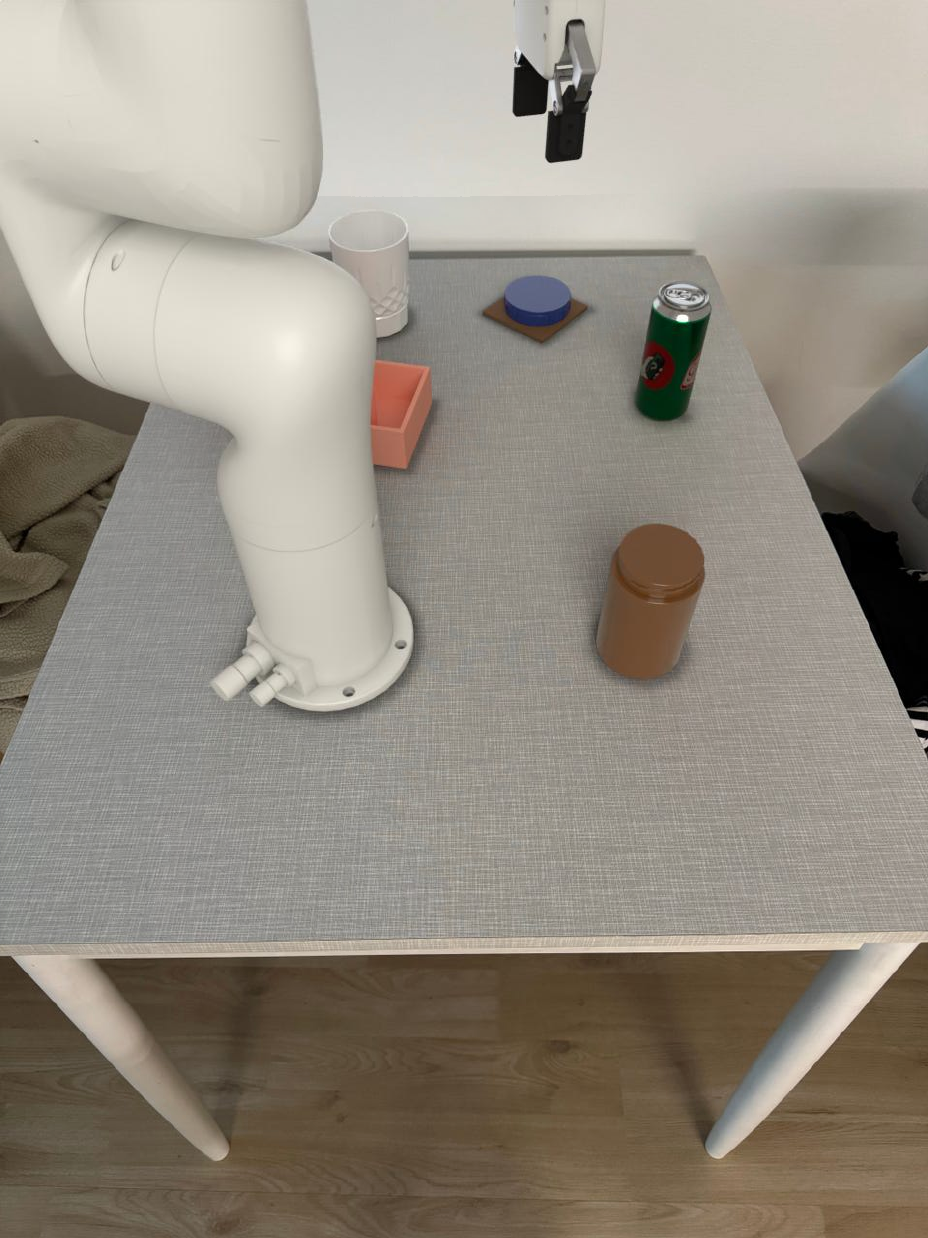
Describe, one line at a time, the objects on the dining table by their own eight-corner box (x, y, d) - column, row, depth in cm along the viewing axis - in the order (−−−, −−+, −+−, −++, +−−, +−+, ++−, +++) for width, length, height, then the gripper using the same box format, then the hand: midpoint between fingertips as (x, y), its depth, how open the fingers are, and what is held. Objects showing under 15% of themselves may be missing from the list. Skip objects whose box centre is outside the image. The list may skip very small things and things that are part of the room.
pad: (542, 343, 90) (542, 339, 90) (482, 314, 94) (482, 311, 93) (587, 308, 94) (587, 305, 94) (528, 282, 97) (528, 279, 97)
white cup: (329, 309, 94) (316, 219, 86) (397, 292, 96) (390, 202, 88) (355, 349, 90) (344, 258, 82) (425, 330, 92) (421, 239, 84)
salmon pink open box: (432, 403, 85) (427, 313, 77) (406, 469, 79) (399, 378, 71) (256, 379, 87) (235, 289, 79) (220, 440, 81) (193, 350, 74)
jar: (650, 694, 64) (676, 606, 56) (579, 648, 67) (594, 557, 58) (696, 640, 67) (727, 549, 59) (626, 599, 70) (647, 505, 61)
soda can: (685, 427, 82) (713, 314, 73) (631, 421, 83) (652, 307, 73) (688, 394, 85) (715, 281, 76) (636, 388, 86) (656, 275, 76)
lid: (501, 291, 96) (501, 276, 94) (564, 287, 96) (565, 273, 95) (508, 328, 91) (508, 313, 90) (574, 324, 92) (575, 310, 90)
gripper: (653, -79, 61) (619, 174, 74) (572, -136, 71) (554, 94, 84) (551, -71, 59) (534, 184, 73) (483, -131, 70) (479, 102, 83)
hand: (545, 136), depth 79 cm, fingers open, 9 cm apart
